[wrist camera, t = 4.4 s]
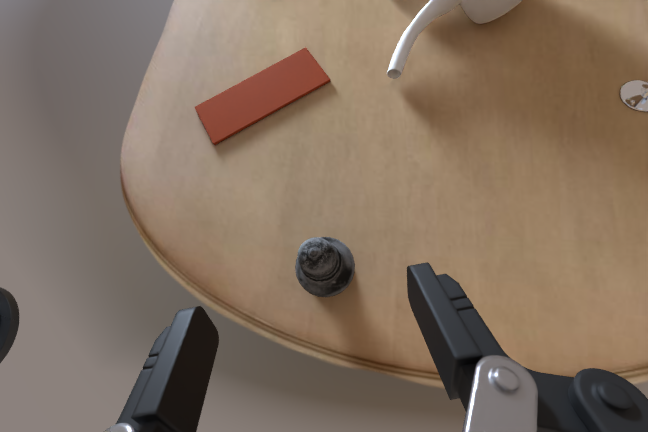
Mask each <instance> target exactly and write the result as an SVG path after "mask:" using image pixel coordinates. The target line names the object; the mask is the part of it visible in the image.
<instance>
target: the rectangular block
mask: <svg viewBox="0 0 648 432" xmlns="http://www.w3.org/2000/svg"><path fill="white" fill-rule="evenodd" d="M328 82H330V79H329V77H328V76H327V75H326V73H325V72H324V71H323V69H322V68H321V67H320V65H319V64H318V63H317V61H316V60H315V59H314V58H313V56H312V55H311V54H310V52H309V51H308V50H307V48H306V47H305V48H304V49H302V50H300V51H298V52H296V53H294V54H292V55H291V56H289V57H287V58H285V59H283V60H281V61H279V62H278V63H276V64H274V65H272V66H270V67H268V68H266V69H265V70H263V71H261V72H259V73H257V74H255V75H253V76H252V77H250V78H248V79H246V80H244V81H242V82H240V83H238V84H237V85H235V86H233V87H231V88H229V89H227V90H225V91H224V92H222V93H220V94H218V95H216V96H214V97H212V98H211V99H209V100H207V101H205V102H203V103H201V104H199V105H198V106H196V107H195V109H196V111H197V113H198V115H199V117H200V119H201V121H202V123H203V125H204V127H205V129H206V130H207V132H208V134H209V136H210V138H211V140H212V142H213V144H214V145H216V144H218V143H219V142H221V141H223V140H225V139H227V138H229V137H230V136H232V135H234V134H236V133H238V132H239V131H241V130H243V129H245V128H247V127H249V126H250V125H252V124H254V123H256V122H258V121H259V120H261V119H263V118H265V117H267V116H269V115H270V114H272V113H274V112H276V111H278V110H279V109H281V108H283V107H285V106H287V105H288V104H290V103H292V102H294V101H296V100H298V99H299V98H301V97H303V96H305V95H307V94H308V93H310V92H312V91H314V90H316V89H318V88H319V87H321V86H323V85H325V84H327V83H328Z"/></svg>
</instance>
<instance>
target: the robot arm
mask: <svg viewBox="0 0 648 432" xmlns="http://www.w3.org/2000/svg"><path fill="white" fill-rule="evenodd" d="M407 287H408V298H409V302H410V306H411V309H412V311H413V313H414V316H415V318H416V320H417V323H418V325H419V327H420V330H421V332H422V335H423V337H424V339H425V342H426V344H427V346H428V349H429V351H430V353H431V356H432V358H433V361H434V363H435V365H436V368H437V370H438V372H439V375H440V377H441V379H442V382H443V384H444V386H445V389H446V391H447V394H448V396H449V398H450V400H452V399H457V398H460V399H461V402H462V404H463V406H464V408H465V410H466V415H465V420H464V425H463V430H462V432H648V399H647V398H646V397H645V395H644V394H642V393H641V391H640V390H639V389H637V388H636V387H635V386H634V385H633V384H631V383H630V382H628V381H627V380H625V379H624V378H622V377H620V376H618V375H616V374H614V373H611V372H609V371H606V370H601V369H595V368H589V369H584V370H582V371H580V372H578V373H577V375H576V376H575V378H573V377H566V376H560V375H553V374H546V373H540V372H535V371H532V370H529V369H527V368H525V367H523V366H521V365H520V364H519V363H517V362H516V361H514V360H512V359H511V358H510V357H509V356H508V355H507V354H506V353H505V352H504V351H503V350H502V348H501V347H500V345H499V344H498V342H497V341H496V339H495V338H494V336H493V335H492V333H491V332H490V330H489V329H488V327H487V326H486V324H485V323H484V321H483V320H482V318H481V317H480V315H479V313H478V312H477V310H476V309H474V307H473V304H472V303H471V301H470V300H469V298H467V295H466V294H465V292H464V291H463V289H462V288H461V286H460V285H459V283H458V282H456V281H455V280H454V279H452V278H451V277H450V276H448V275H447V274H442V275H437V276H436V274H435V272H434V271H433V269H432V267H431V266H430V264H429V263H422V264H416V265H411V266H408V267H407ZM0 323H1V317H0ZM218 343H219V336H218V331H217V329H216V327H215V326H214V324H213V323H212V321H211V320H210V318H209V317H208V315H207V314H206V312H205V310H204V309H203V308H202V307H201V306H198V307H193V308H188V309H182V310H179V311H178V312H177V313H176V316H175V318H174V320H173V322H172V324H171V326H169V327H166V328H165V329H164V331H163V332H162V333H161V334H160V336H159V337H158V338H157V339H156V340H155V342H154V345H153V347H152V349H151V351H150V353H149V358H147V359H146V362H145V364H144V366H143V370H142V371H141V372H140V374H139V377H138V379H137V381H136V383H135V386H134V388H133V390H132V392H131V394H130V396H129V398H128V400H127V403H126V405H125V407H124V409H123V411H122V413H121V415H120V417H119V419H118V421H117V423H116V424H115V425H114V426H112V427H110V428H108V429H107V430H105V431H104V432H196V430H197V426H198V422H199V418H200V415H201V410H202V406H203V403H204V398H205V395H206V391H207V387H208V383H209V379H210V375H211V371H212V368H213V364H214V359H215V356H216V352H217V348H218Z"/></svg>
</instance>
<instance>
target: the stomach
mask: <svg viewBox="0 0 648 432" xmlns="http://www.w3.org/2000/svg"><path fill="white" fill-rule="evenodd" d="M521 1H522V0H430V1H429V2H428V3H427V4H426V5H425V6H424V8H423V9H422V10H421V11H420V12H419V13H418V15H417V16H416V17H415V19H414V20H413V21H412V23H411V24H410V25H409V27H408V28H407V29H406V31H405V32H404V34H403V35H402V37H401V39H400V41H399V43H398V45H397V47H396V50H395V52H394V54H393V57H392V60H391V62H390V65H389V68H388V72H387V75H388V77H390V78H393V79H395V78H398V77H400V75H401V73H402V70H403V68H404V65H405V62H406V60H407V57H408V55H409V52H410V50H411V48H412V46H413V44H414V42H415V40H416V38H417V37H418V35H419V34H420V33H421V32H422V30H423V29H424V28H425V27H426V26H428V25H429V24H430V23H431V22H432V21H433V20H434V19H436V18H438V17H439V16H442V15H444V14H446V13H448V12H449V11H451V10H452V9H454V8H455V7H456V6H457V5H458V4H460V5H461V6H462V8H463V10H464V12H465V13H466V15H467V16H468V17H469V18H470V19H471V20H472V21H473V22H475V23H477V24H483V23H487V22H490V21H492V20H495V19H497V18H499V17H500V16H502V15H504V14H505V13H507V12H509V11H510V10H511V9H513V8H514V7H515V6H516V5H518V4H519V3H520V2H521Z"/></svg>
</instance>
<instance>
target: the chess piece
mask: <svg viewBox="0 0 648 432" xmlns="http://www.w3.org/2000/svg"><path fill="white" fill-rule="evenodd" d="M295 269H296V276H297V278H298V280H299V283H300V284H301V285H302V287H303V288H304V289H305V290H306V291H308V292H309V293H311V294H313V295H315V296H318V297H330V296H335V295H337V294H339V293H341V292H342V291H343V290H344V289H346V288H347V287H348V285H349V284H350V282H351V281H352V278H353V275H354V269H355V263H354V259H353V255H352V254H351V252H350V250H349V248H348V247H347V246H346V245H345V244H344V243H342V242H341V241H339V240H337V239H334V238H331V237H321V238H310V239H308V240H306V241H305V242H304V243H302V245H301V246H300V248H299V251H298V257H297V259H296V267H295Z"/></svg>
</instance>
